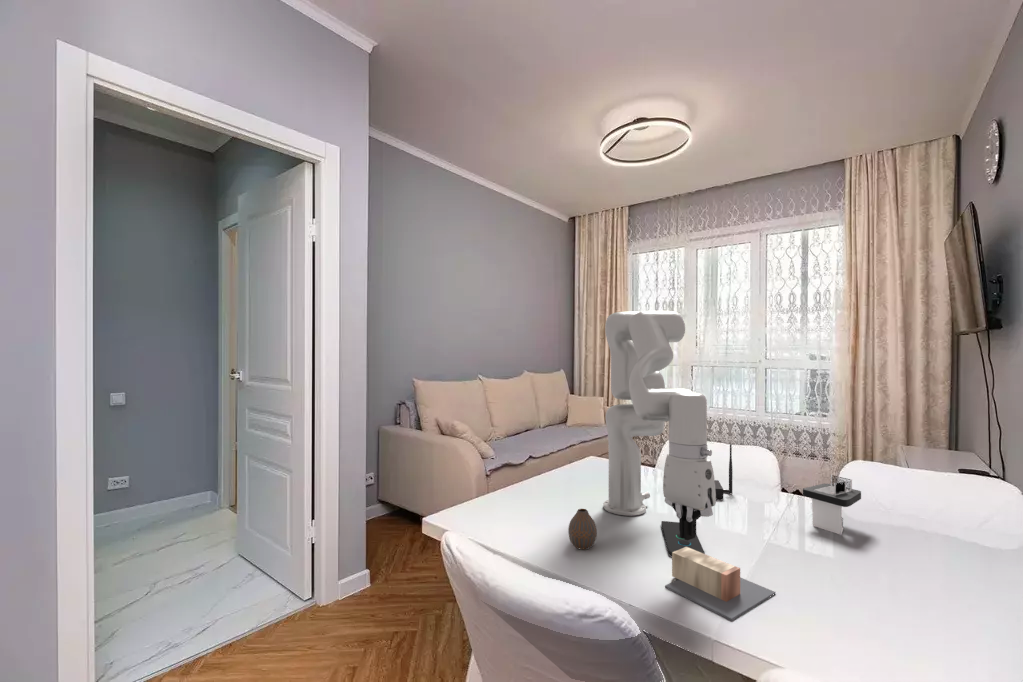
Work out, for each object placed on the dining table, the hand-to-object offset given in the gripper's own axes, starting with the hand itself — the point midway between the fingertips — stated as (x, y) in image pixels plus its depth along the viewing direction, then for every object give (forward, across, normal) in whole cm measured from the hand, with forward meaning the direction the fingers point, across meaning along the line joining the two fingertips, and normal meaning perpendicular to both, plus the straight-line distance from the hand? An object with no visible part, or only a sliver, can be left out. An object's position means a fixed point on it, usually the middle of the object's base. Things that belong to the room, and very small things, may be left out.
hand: (687, 537), depth 97 cm
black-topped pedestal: (+9, -6, -59) cm, 60 cm away
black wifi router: (+9, +32, -56) cm, 65 cm away
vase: (+9, +24, +7) cm, 27 cm away
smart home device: (+9, +13, -16) cm, 22 cm away
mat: (+9, -6, -1) cm, 11 cm away
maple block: (+6, +2, 0) cm, 6 cm away
